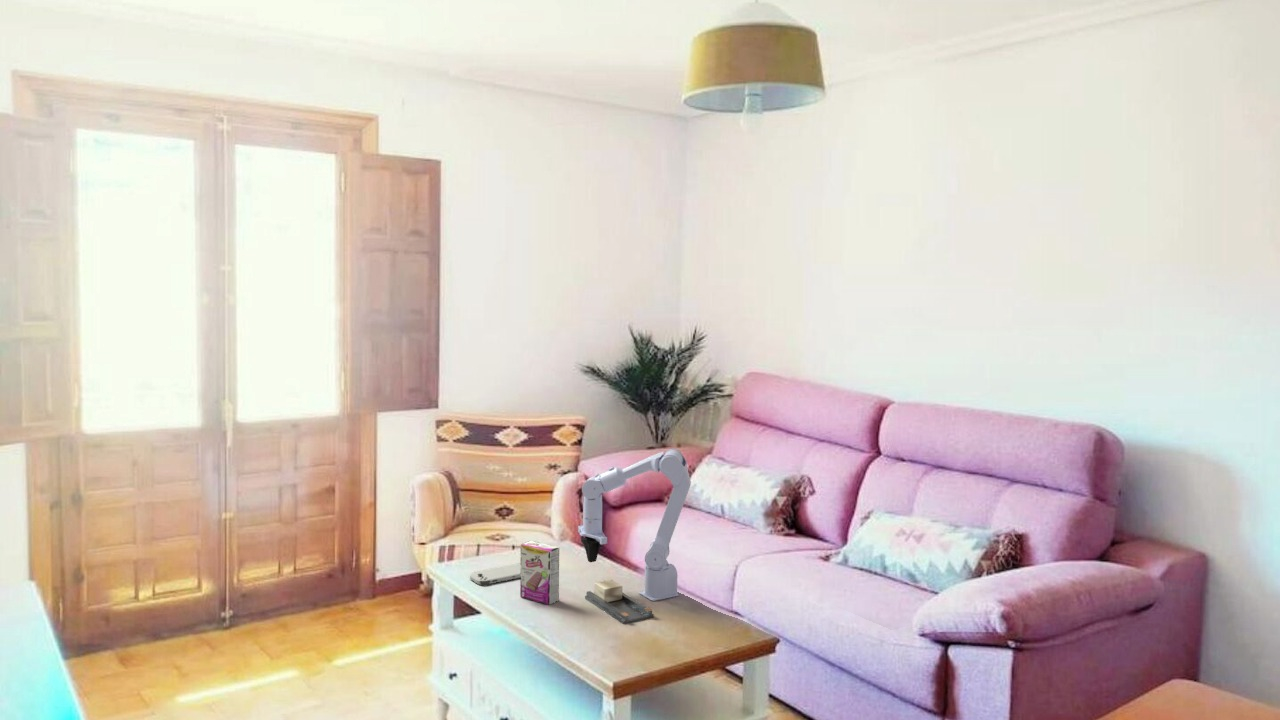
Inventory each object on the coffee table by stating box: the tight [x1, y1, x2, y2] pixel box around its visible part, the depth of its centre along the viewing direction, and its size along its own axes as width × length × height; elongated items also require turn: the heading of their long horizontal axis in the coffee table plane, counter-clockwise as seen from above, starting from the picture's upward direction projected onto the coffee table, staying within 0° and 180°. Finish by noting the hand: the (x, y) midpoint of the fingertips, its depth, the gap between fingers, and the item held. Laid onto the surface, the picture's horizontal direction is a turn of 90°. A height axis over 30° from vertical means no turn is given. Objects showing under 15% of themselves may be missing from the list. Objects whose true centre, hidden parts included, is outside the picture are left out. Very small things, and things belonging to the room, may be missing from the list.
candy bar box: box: [519, 540, 560, 606], centre depth 264 cm, size 11×5×16 cm, turn 58°
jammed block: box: [593, 579, 623, 602], centre depth 264 cm, size 6×6×4 cm
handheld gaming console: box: [469, 562, 521, 587], centre depth 285 cm, size 23×3×10 cm
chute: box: [584, 590, 655, 625], centre depth 259 cm, size 10×22×2 cm, turn 32°
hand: (592, 561), depth 272 cm, fingers closed
